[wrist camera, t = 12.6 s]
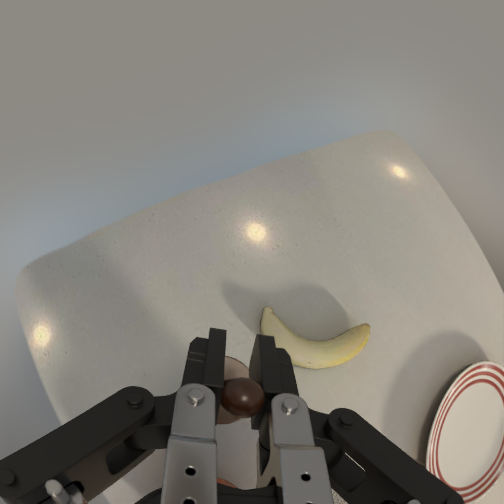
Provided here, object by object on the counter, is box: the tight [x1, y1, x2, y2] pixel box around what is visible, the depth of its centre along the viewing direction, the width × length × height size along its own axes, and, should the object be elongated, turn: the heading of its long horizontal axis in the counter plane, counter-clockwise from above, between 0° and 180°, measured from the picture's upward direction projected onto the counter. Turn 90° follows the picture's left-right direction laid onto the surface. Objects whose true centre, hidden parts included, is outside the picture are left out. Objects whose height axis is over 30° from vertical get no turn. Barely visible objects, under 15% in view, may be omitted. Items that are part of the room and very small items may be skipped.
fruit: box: [261, 307, 370, 369], centre depth 39 cm, size 7×15×3 cm, turn 80°
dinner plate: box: [426, 361, 504, 504], centre depth 35 cm, size 27×27×3 cm
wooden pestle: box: [217, 356, 265, 424], centre depth 16 cm, size 5×5×16 cm
